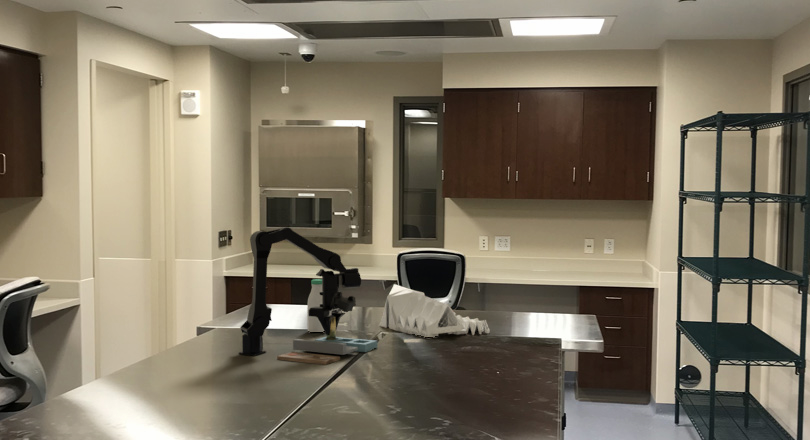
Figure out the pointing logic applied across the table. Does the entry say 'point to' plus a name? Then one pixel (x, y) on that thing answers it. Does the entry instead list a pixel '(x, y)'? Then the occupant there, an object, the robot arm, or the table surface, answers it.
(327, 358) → the plate
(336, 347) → the sliding cover
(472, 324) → the white faceted model
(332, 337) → the brass pin
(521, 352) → the table surface
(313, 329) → the milk bottle
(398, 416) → the table surface
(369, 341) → the socket board
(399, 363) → the table surface
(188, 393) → the table surface
